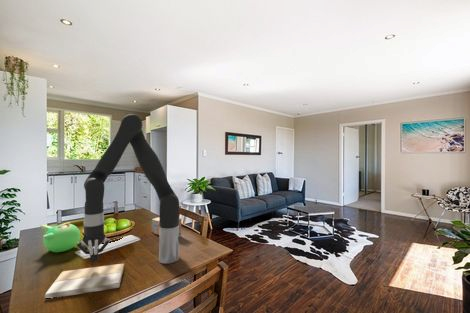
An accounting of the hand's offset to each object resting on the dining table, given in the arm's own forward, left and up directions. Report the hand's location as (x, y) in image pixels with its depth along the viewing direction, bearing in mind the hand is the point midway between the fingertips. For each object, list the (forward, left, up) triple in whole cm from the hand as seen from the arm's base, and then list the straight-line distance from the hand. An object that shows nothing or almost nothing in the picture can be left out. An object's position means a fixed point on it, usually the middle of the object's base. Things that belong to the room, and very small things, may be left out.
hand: (94, 262), depth 99 cm
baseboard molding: (-2, -29, -6) cm, 30 cm away
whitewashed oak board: (0, +10, -5) cm, 11 cm away
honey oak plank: (0, +2, -5) cm, 6 cm away
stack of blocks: (-32, -40, -6) cm, 51 cm away
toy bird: (+22, -31, -6) cm, 39 cm away
